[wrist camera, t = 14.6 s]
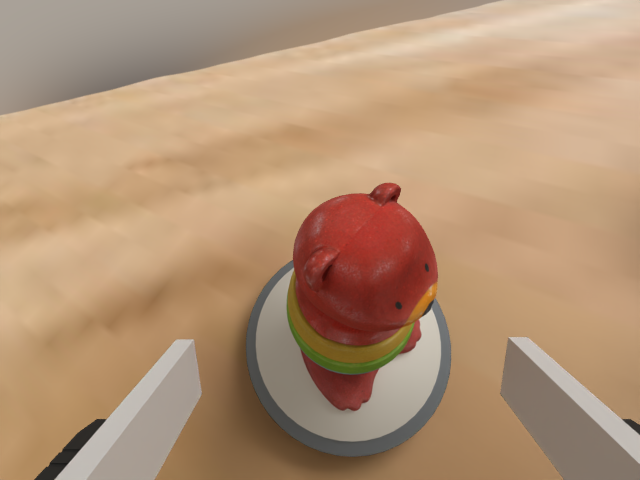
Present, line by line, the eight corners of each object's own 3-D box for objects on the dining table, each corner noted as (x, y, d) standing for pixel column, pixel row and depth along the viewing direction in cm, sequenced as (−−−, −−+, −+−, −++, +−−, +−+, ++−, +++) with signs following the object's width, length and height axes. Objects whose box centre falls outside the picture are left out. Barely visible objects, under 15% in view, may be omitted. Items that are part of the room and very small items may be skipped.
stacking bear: (347, 424, 24) (373, 435, 9) (269, 332, 28) (195, 230, 13) (429, 330, 28) (548, 222, 12) (350, 260, 32) (366, 113, 16)
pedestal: (367, 234, 38) (371, 216, 34) (480, 375, 29) (500, 370, 26) (227, 310, 33) (215, 298, 30) (311, 503, 25) (307, 517, 21)
